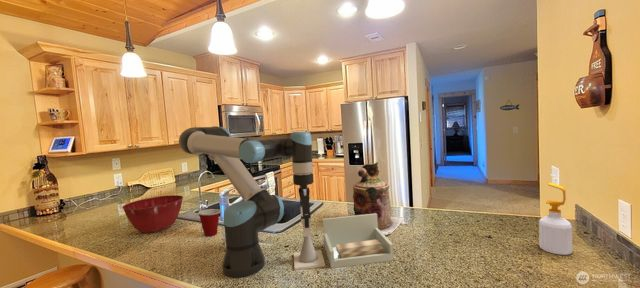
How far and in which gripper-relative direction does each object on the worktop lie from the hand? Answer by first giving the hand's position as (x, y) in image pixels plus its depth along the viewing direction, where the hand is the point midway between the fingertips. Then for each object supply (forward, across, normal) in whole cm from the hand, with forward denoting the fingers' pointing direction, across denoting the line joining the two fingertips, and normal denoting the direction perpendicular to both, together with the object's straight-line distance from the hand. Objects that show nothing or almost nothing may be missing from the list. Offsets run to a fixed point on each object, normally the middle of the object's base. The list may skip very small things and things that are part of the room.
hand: (305, 228), depth 102 cm
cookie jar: (+12, +28, -35) cm, 46 cm away
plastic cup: (+13, +39, +46) cm, 61 cm away
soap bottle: (+11, -14, -90) cm, 92 cm away
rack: (+12, +1, -20) cm, 23 cm away
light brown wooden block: (+12, -4, -20) cm, 23 cm away
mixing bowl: (+14, +57, +80) cm, 99 cm away
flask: (+12, 0, 0) cm, 12 cm away
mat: (+12, 0, 0) cm, 12 cm away
